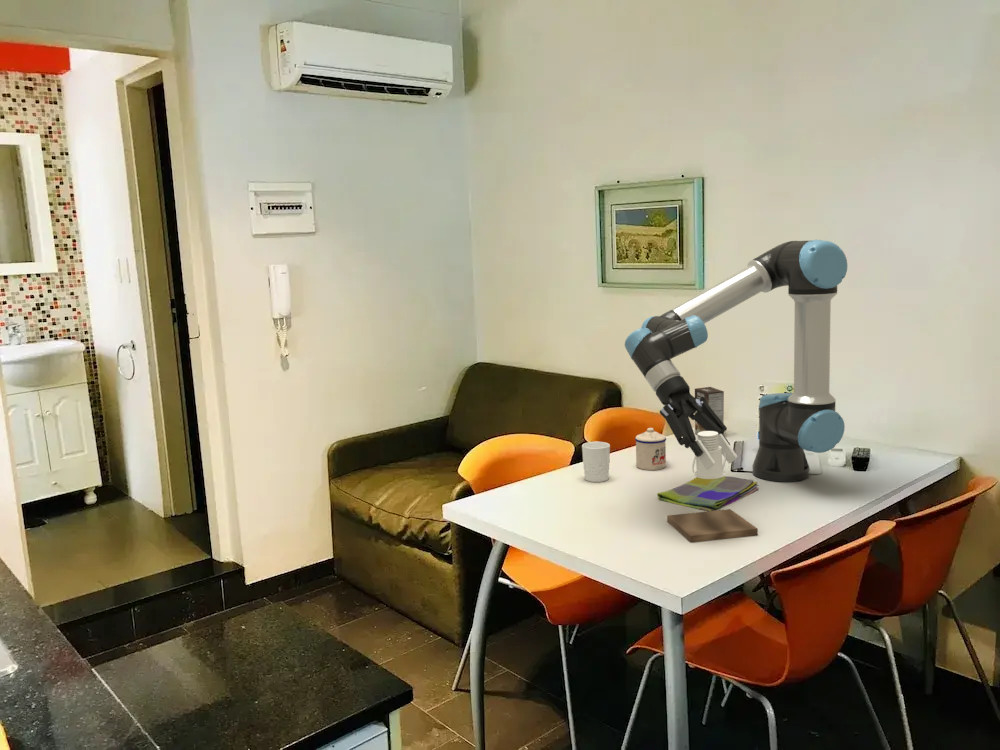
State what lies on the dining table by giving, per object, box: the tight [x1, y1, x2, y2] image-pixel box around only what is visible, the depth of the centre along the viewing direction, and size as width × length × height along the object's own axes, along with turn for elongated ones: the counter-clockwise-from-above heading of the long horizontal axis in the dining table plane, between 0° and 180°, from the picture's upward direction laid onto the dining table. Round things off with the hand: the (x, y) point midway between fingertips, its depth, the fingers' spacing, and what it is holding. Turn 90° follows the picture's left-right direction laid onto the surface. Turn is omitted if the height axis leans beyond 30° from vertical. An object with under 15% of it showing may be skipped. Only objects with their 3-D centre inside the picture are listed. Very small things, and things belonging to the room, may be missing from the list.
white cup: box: [581, 441, 611, 483], centre depth 228 cm, size 8×8×10 cm
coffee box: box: [694, 386, 725, 435], centre depth 271 cm, size 9×6×16 cm
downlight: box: [691, 431, 727, 479], centre depth 183 cm, size 8×7×10 cm
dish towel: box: [656, 475, 759, 512], centre depth 211 cm, size 18×24×3 cm
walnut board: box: [666, 508, 759, 543], centre depth 186 cm, size 16×14×2 cm
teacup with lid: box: [634, 427, 667, 471], centre depth 239 cm, size 12×9×12 cm
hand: (722, 463), depth 181 cm, fingers closed on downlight, 7 cm apart
